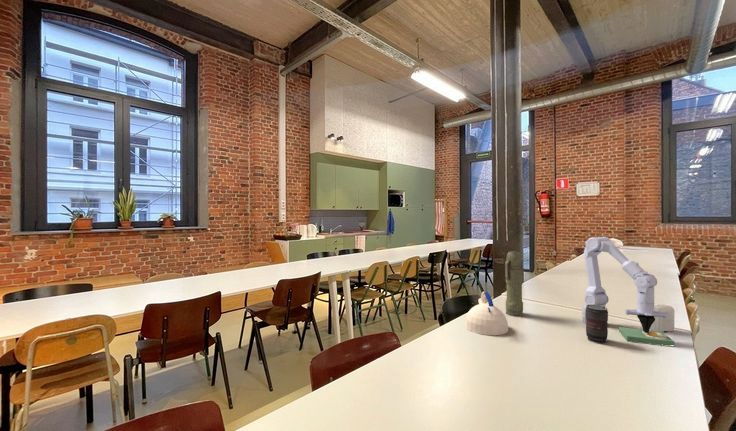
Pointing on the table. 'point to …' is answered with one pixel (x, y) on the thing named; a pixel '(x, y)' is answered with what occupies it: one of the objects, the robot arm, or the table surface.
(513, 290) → the thermos
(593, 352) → the table surface
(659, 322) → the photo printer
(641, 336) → the mat
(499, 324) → the kettle
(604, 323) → the camera lens
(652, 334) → the ball
